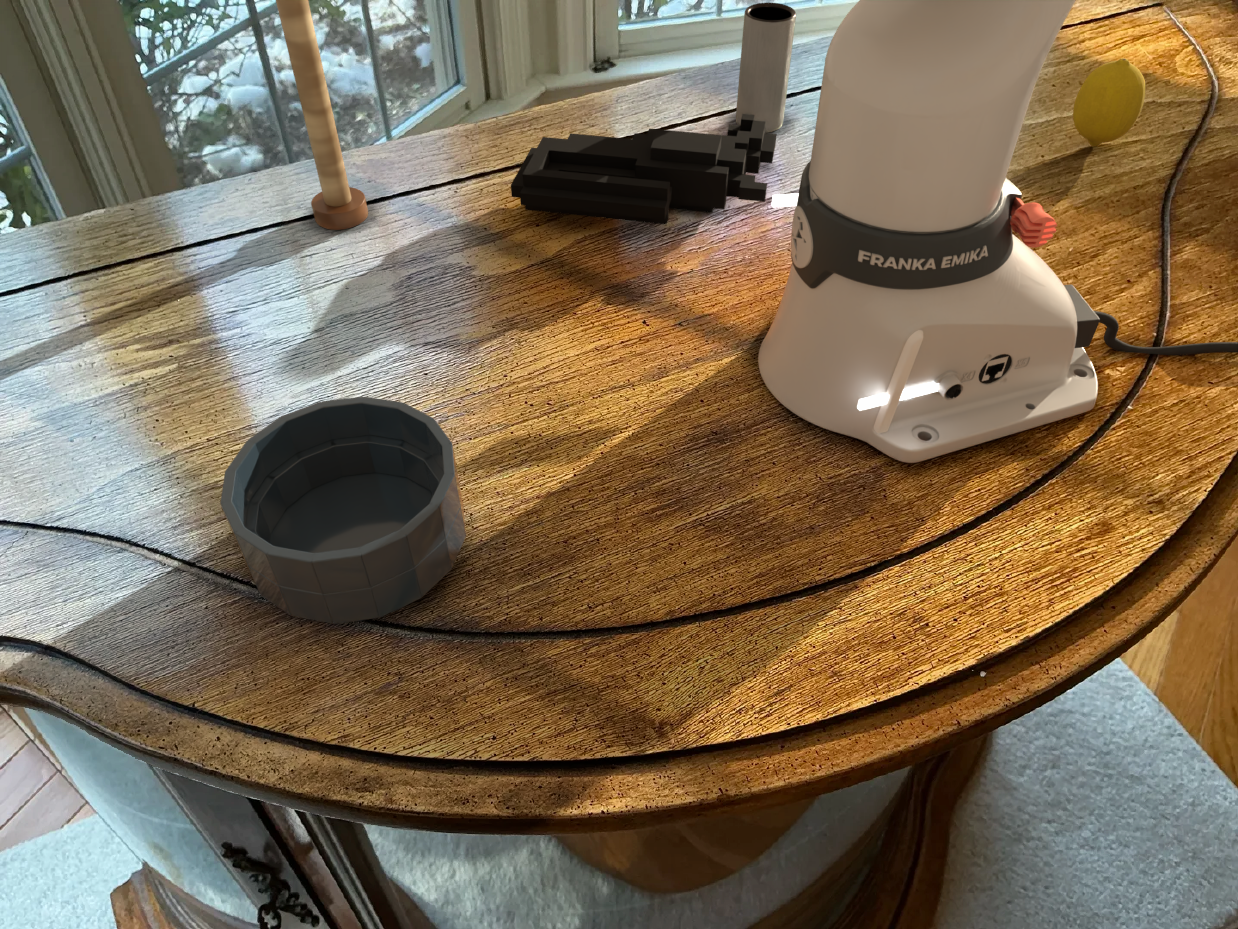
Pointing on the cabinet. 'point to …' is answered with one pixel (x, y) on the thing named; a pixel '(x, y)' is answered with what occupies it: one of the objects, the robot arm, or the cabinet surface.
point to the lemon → (1109, 102)
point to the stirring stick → (319, 121)
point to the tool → (645, 172)
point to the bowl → (346, 508)
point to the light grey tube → (765, 63)
